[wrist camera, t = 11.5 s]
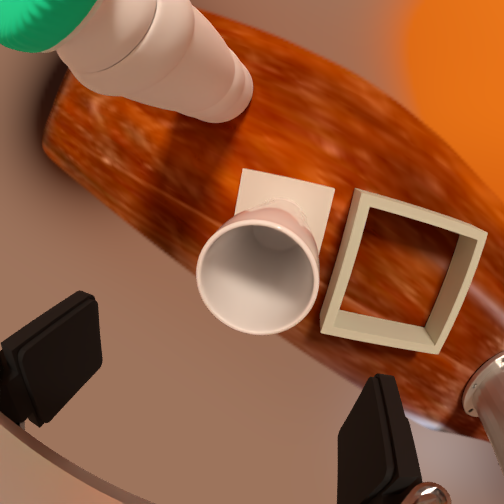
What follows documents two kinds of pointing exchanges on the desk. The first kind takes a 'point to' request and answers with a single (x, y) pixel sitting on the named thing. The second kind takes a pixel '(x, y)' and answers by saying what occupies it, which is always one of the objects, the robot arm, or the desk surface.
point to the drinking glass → (261, 269)
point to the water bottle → (136, 51)
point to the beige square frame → (447, 300)
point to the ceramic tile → (302, 192)
